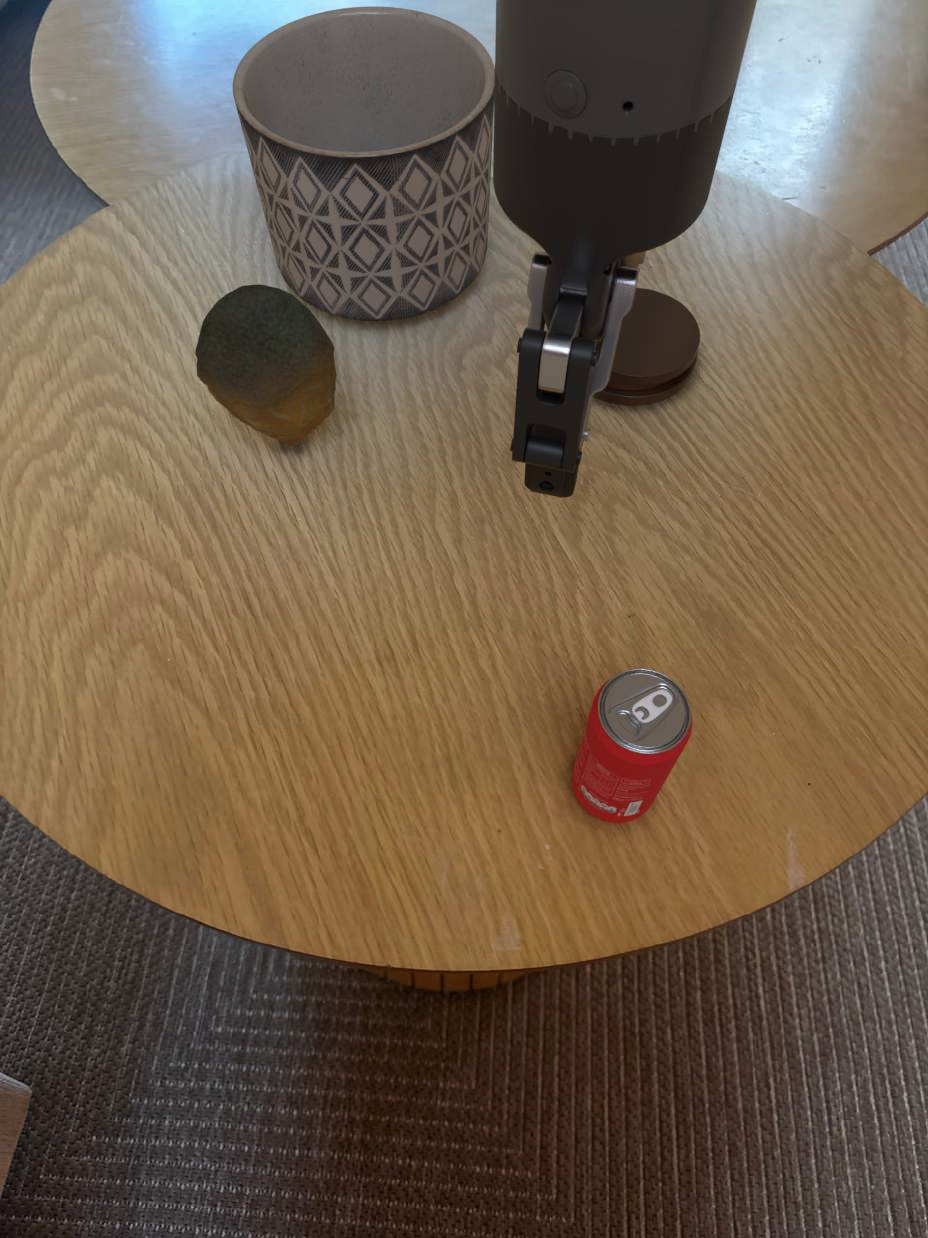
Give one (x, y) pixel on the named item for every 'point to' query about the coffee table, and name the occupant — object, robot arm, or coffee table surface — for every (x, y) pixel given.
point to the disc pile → (652, 351)
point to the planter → (371, 157)
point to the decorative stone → (268, 362)
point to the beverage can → (630, 744)
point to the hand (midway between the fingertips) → (569, 417)
